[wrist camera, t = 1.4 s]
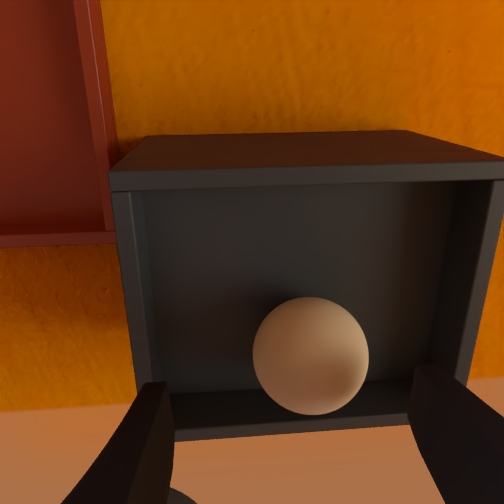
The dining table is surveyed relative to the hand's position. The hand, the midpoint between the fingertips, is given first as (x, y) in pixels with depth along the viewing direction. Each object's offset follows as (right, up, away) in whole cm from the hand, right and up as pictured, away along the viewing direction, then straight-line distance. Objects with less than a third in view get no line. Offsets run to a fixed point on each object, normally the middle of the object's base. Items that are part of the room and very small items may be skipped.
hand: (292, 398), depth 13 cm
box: (0, +5, +9) cm, 11 cm away
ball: (+1, +1, +3) cm, 3 cm away
